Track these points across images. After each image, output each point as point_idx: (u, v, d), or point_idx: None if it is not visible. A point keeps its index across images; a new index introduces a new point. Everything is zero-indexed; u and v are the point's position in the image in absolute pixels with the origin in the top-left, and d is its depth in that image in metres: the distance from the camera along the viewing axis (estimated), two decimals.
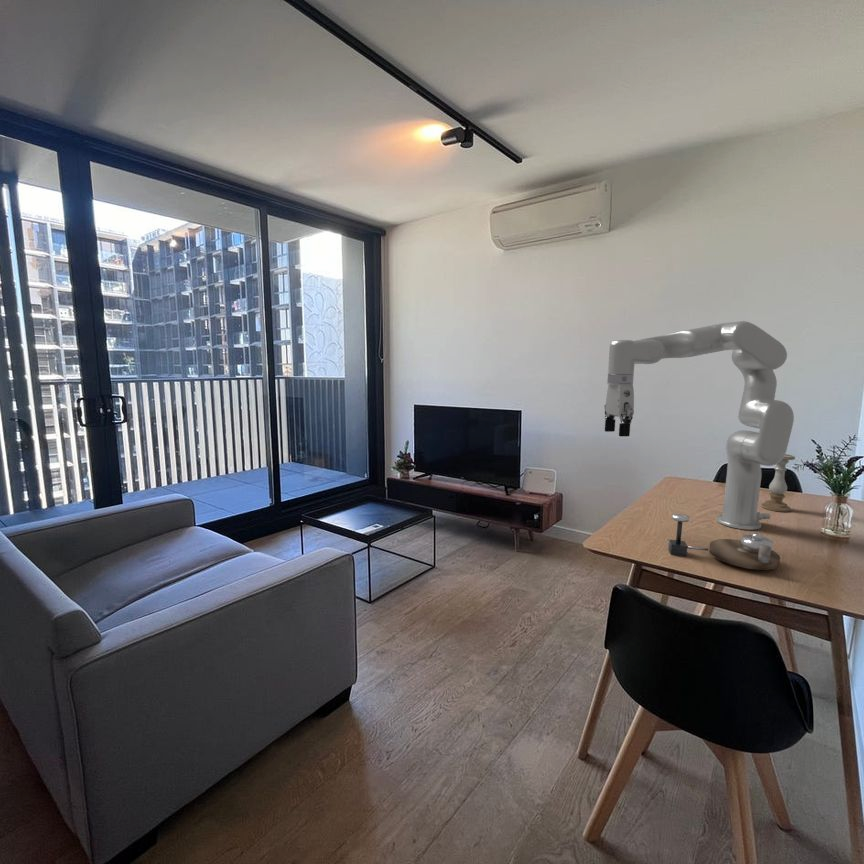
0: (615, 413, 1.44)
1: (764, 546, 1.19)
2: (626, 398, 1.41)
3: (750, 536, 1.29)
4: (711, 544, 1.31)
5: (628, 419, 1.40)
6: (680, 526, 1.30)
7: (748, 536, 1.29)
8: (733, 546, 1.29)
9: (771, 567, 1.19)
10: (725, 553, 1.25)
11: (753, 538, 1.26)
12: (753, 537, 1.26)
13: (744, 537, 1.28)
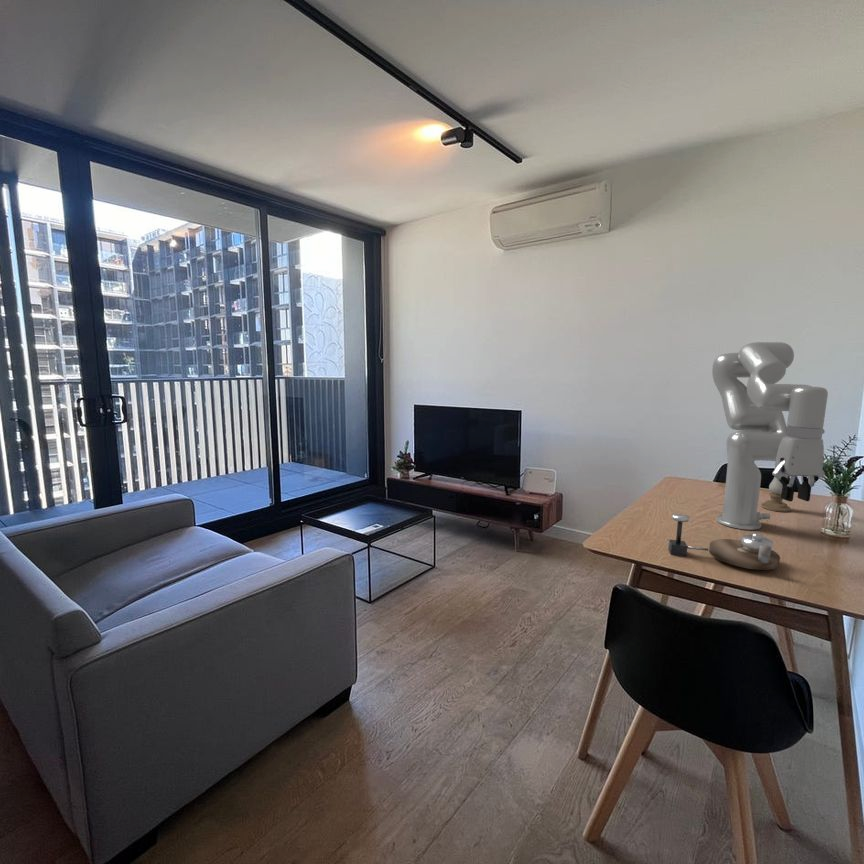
0: (814, 472, 1.22)
1: (764, 546, 1.19)
2: None
3: (750, 536, 1.29)
4: (711, 544, 1.31)
5: None
6: (680, 526, 1.30)
7: (748, 536, 1.29)
8: (733, 546, 1.29)
9: (771, 567, 1.19)
10: (725, 553, 1.25)
11: (753, 538, 1.26)
12: (753, 537, 1.26)
13: (744, 537, 1.28)
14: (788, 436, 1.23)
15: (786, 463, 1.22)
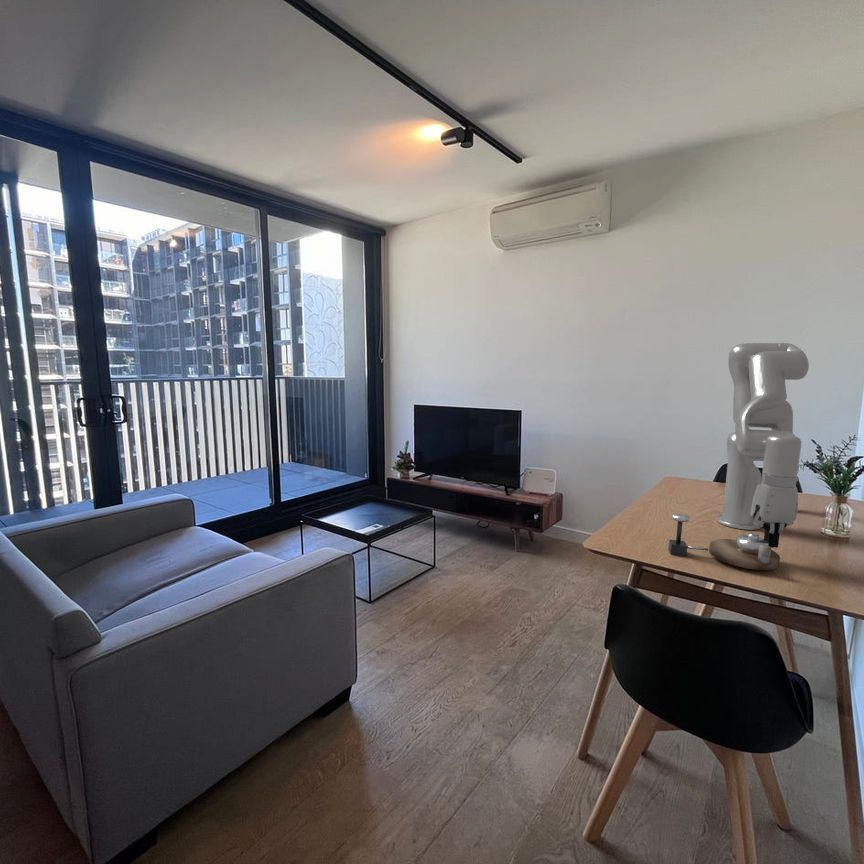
0: (789, 519, 1.24)
1: (764, 546, 1.19)
2: None
3: (746, 536, 1.28)
4: (711, 544, 1.31)
5: None
6: (680, 526, 1.30)
7: (744, 536, 1.28)
8: (733, 546, 1.29)
9: (771, 567, 1.19)
10: (725, 553, 1.25)
11: (749, 538, 1.26)
12: (749, 537, 1.26)
13: (740, 537, 1.28)
14: (763, 483, 1.25)
15: (761, 510, 1.24)
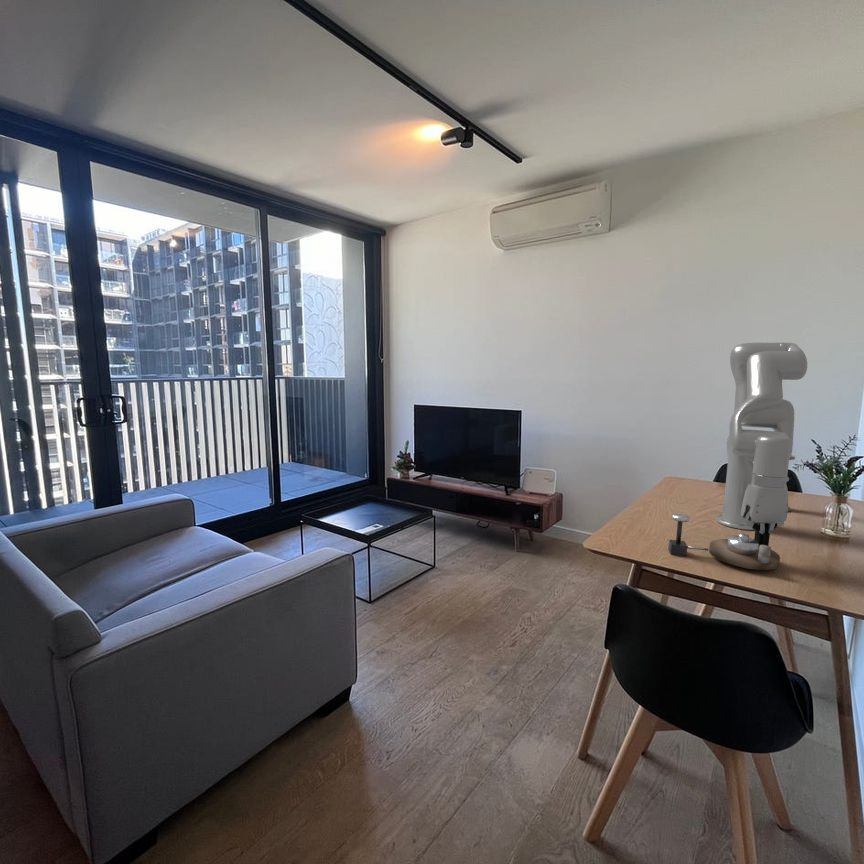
0: (779, 520, 1.24)
1: (764, 546, 1.19)
2: None
3: (736, 537, 1.28)
4: (711, 544, 1.31)
5: None
6: (680, 526, 1.30)
7: (734, 537, 1.28)
8: None
9: (771, 567, 1.19)
10: (725, 553, 1.25)
11: (739, 539, 1.26)
12: (739, 538, 1.26)
13: (730, 538, 1.27)
14: (753, 483, 1.24)
15: (751, 511, 1.24)
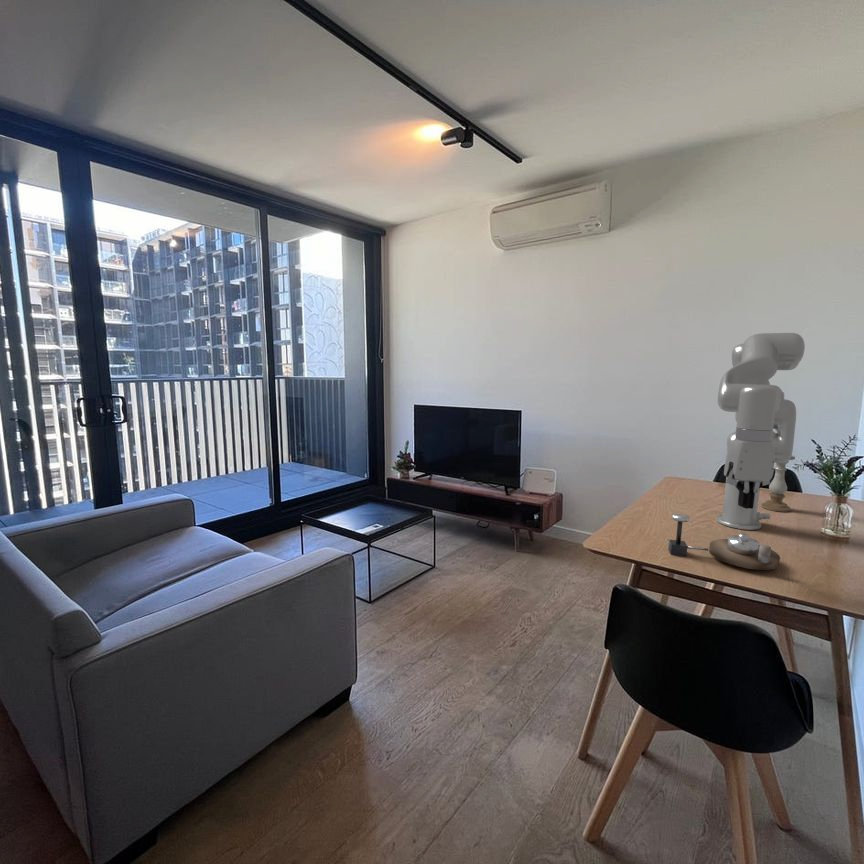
0: (764, 478, 1.15)
1: (764, 546, 1.19)
2: None
3: (736, 537, 1.28)
4: (711, 544, 1.31)
5: None
6: (680, 526, 1.30)
7: (734, 537, 1.28)
8: None
9: (771, 567, 1.19)
10: (725, 553, 1.25)
11: (739, 539, 1.26)
12: (739, 538, 1.26)
13: (730, 538, 1.27)
14: (737, 439, 1.16)
15: (734, 467, 1.15)
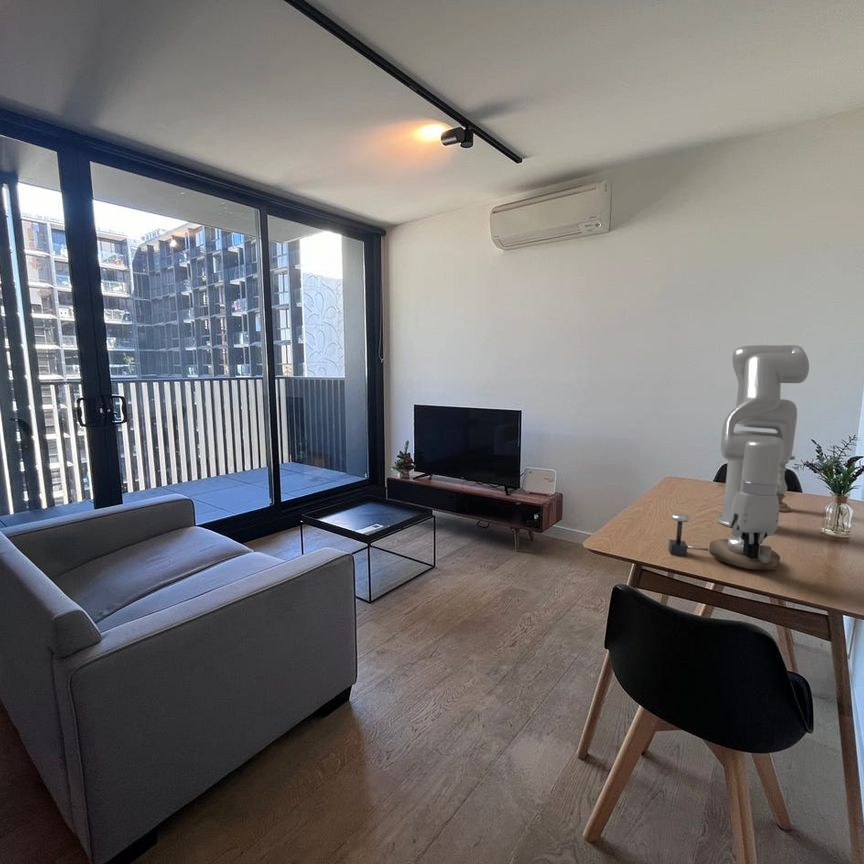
0: (769, 529, 1.17)
1: (764, 546, 1.19)
2: None
3: (736, 537, 1.28)
4: (711, 544, 1.30)
5: None
6: (680, 526, 1.30)
7: (734, 537, 1.28)
8: None
9: (771, 567, 1.19)
10: (725, 553, 1.24)
11: (740, 539, 1.26)
12: (739, 538, 1.26)
13: (730, 538, 1.27)
14: (742, 491, 1.18)
15: (739, 519, 1.17)
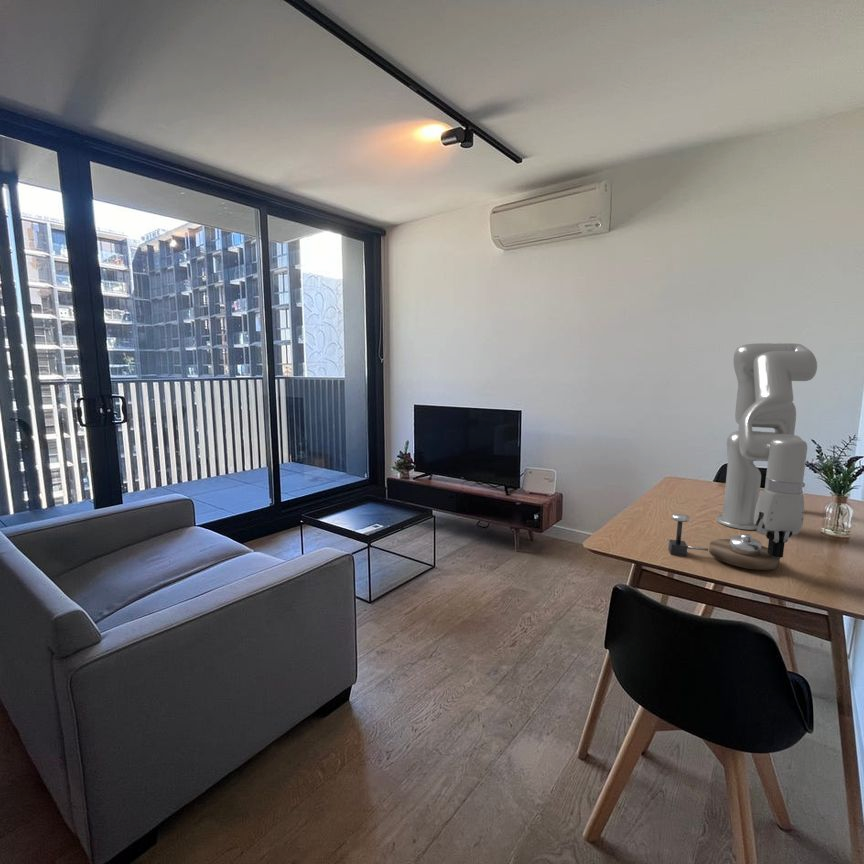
0: (794, 528, 1.17)
1: None
2: None
3: (735, 539, 1.27)
4: (723, 553, 1.24)
5: None
6: (680, 526, 1.30)
7: (735, 539, 1.26)
8: None
9: None
10: (751, 560, 1.20)
11: (746, 540, 1.25)
12: (746, 539, 1.25)
13: (738, 542, 1.25)
14: (767, 489, 1.18)
15: (765, 518, 1.17)
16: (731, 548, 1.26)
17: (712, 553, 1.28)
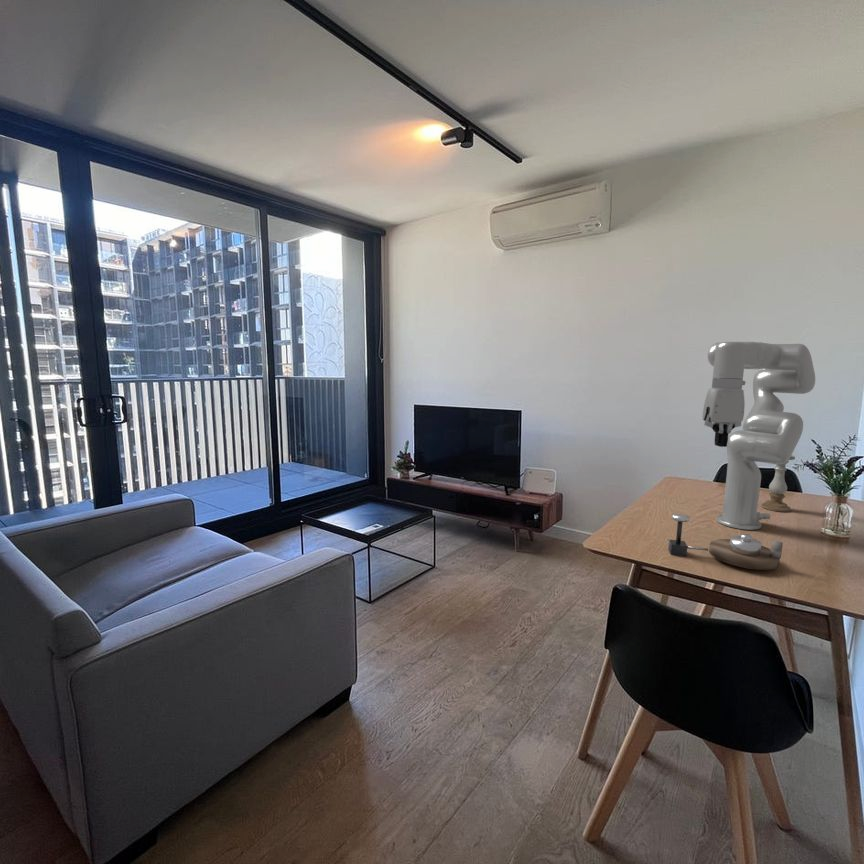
0: (736, 420, 1.35)
1: (776, 542, 1.22)
2: None
3: (735, 539, 1.27)
4: (723, 553, 1.24)
5: None
6: (680, 526, 1.30)
7: (735, 539, 1.26)
8: None
9: None
10: (751, 560, 1.20)
11: (746, 540, 1.25)
12: (746, 539, 1.25)
13: (738, 542, 1.25)
14: (713, 387, 1.36)
15: (711, 411, 1.35)
16: (731, 548, 1.26)
17: (712, 553, 1.28)
